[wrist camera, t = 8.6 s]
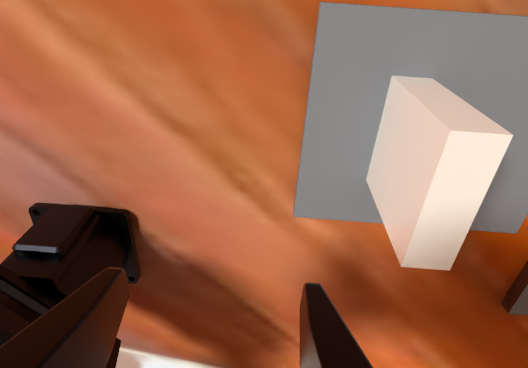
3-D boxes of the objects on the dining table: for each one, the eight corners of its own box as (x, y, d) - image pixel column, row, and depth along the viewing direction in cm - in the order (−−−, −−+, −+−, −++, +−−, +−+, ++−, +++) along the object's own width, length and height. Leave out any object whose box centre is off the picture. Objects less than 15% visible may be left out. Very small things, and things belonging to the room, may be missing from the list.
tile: (401, 182, 20) (451, 270, 14) (366, 179, 20) (400, 266, 14) (434, 78, 17) (516, 135, 11) (391, 75, 17) (450, 130, 11)
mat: (511, 227, 22) (516, 233, 22) (293, 211, 22) (293, 216, 22) (623, 22, 16) (635, 24, 15) (319, 1, 16) (320, 2, 16)
